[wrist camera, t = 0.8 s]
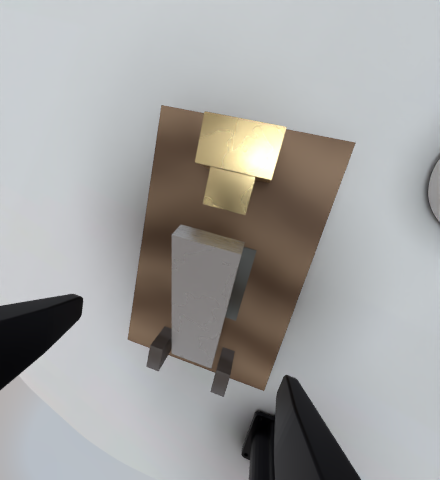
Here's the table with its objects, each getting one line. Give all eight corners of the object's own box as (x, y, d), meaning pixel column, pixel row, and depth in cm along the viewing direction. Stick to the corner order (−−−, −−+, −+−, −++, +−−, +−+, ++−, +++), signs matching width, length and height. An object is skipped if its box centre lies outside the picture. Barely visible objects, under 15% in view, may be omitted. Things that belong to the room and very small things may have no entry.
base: (263, 380, 21) (264, 420, 18) (134, 332, 24) (109, 359, 20) (348, 146, 16) (376, 130, 12) (167, 111, 18) (142, 87, 14)
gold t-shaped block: (260, 214, 16) (259, 219, 13) (201, 199, 17) (187, 200, 14) (281, 142, 15) (286, 127, 12) (216, 128, 16) (204, 111, 13)
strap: (214, 355, 20) (211, 368, 19) (176, 341, 21) (171, 353, 20) (244, 242, 12) (241, 254, 11) (180, 224, 12) (171, 234, 12)
